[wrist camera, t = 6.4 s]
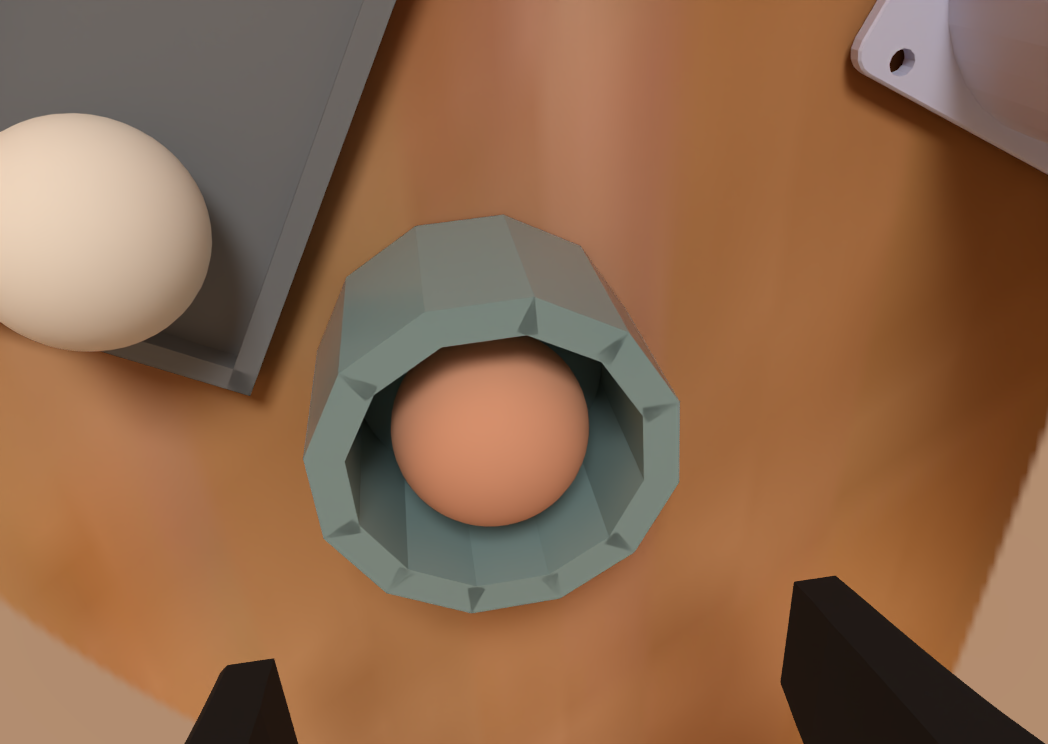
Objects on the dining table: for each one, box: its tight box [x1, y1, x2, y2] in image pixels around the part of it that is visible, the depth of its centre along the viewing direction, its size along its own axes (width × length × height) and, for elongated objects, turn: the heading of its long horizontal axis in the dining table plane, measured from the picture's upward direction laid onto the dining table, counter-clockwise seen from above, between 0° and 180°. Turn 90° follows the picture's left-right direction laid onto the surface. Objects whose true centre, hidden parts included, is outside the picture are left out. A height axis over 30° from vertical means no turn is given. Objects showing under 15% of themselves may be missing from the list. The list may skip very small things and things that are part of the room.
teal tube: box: [303, 215, 680, 613], centre depth 18 cm, size 7×7×4 cm
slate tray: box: [0, 0, 396, 396], centre depth 15 cm, size 7×12×1 cm, turn 155°
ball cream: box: [0, 113, 212, 352], centre depth 15 cm, size 4×4×4 cm
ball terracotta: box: [391, 335, 589, 527], centre depth 18 cm, size 4×4×4 cm
